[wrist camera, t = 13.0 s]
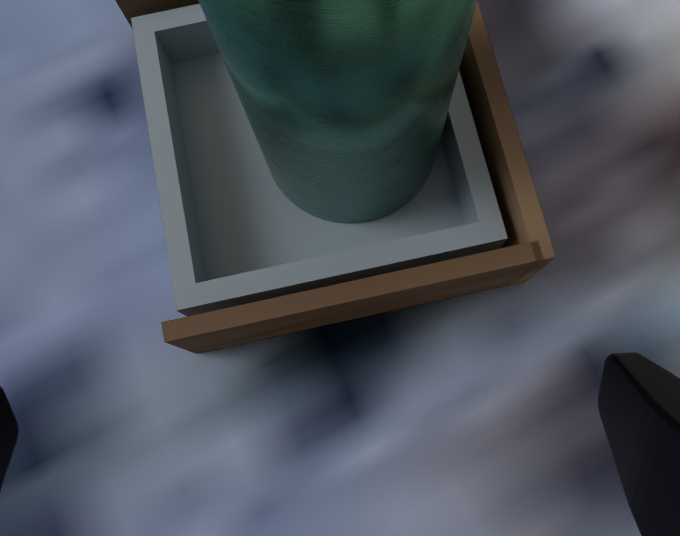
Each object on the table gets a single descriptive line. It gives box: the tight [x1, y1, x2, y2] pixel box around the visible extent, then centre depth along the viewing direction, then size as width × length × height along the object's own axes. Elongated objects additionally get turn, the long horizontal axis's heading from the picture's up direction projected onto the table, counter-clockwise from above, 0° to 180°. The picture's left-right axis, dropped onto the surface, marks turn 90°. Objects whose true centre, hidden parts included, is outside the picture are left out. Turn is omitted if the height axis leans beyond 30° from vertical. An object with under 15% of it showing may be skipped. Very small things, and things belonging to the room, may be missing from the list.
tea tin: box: [198, 0, 478, 224], centre depth 12 cm, size 5×5×13 cm
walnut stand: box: [116, 0, 556, 353], centre depth 18 cm, size 10×10×3 cm
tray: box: [131, 4, 508, 317], centre depth 18 cm, size 9×9×2 cm
